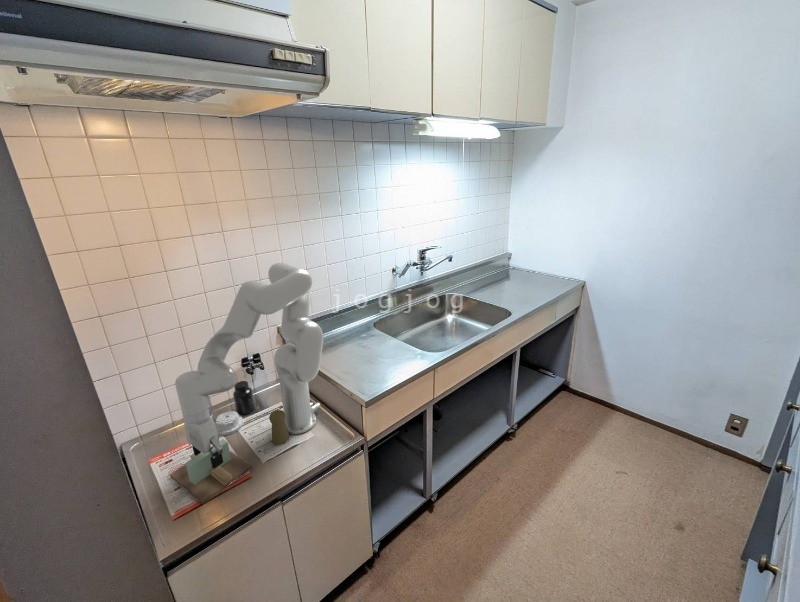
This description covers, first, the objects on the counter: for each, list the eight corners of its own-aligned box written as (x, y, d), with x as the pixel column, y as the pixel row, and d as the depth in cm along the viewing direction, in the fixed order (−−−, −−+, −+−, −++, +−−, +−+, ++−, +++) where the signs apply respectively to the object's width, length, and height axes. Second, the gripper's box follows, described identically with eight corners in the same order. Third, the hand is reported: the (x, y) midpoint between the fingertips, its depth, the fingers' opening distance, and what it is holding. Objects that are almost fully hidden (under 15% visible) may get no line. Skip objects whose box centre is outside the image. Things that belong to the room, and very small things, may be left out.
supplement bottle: (251, 402, 148) (246, 377, 144) (258, 410, 144) (254, 384, 140) (233, 410, 144) (228, 383, 140) (240, 418, 139) (235, 391, 135)
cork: (270, 435, 130) (266, 409, 127) (288, 431, 133) (285, 405, 129) (272, 447, 125) (267, 420, 121) (290, 442, 127) (286, 415, 123)
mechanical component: (207, 434, 132) (232, 437, 130) (205, 423, 130) (230, 427, 128) (225, 416, 141) (249, 419, 139) (223, 406, 139) (247, 409, 138)
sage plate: (226, 456, 120) (223, 438, 118) (231, 459, 119) (227, 441, 116) (190, 481, 111) (185, 463, 108) (194, 485, 109) (189, 466, 107)
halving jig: (219, 445, 126) (217, 438, 125) (252, 467, 117) (250, 460, 116) (170, 476, 113) (168, 469, 112) (203, 504, 104) (201, 496, 103)
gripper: (169, 409, 109) (181, 455, 115) (202, 430, 100) (213, 479, 106) (194, 396, 115) (204, 440, 121) (227, 415, 106) (237, 462, 112)
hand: (208, 458), depth 113 cm, fingers open, 9 cm apart
